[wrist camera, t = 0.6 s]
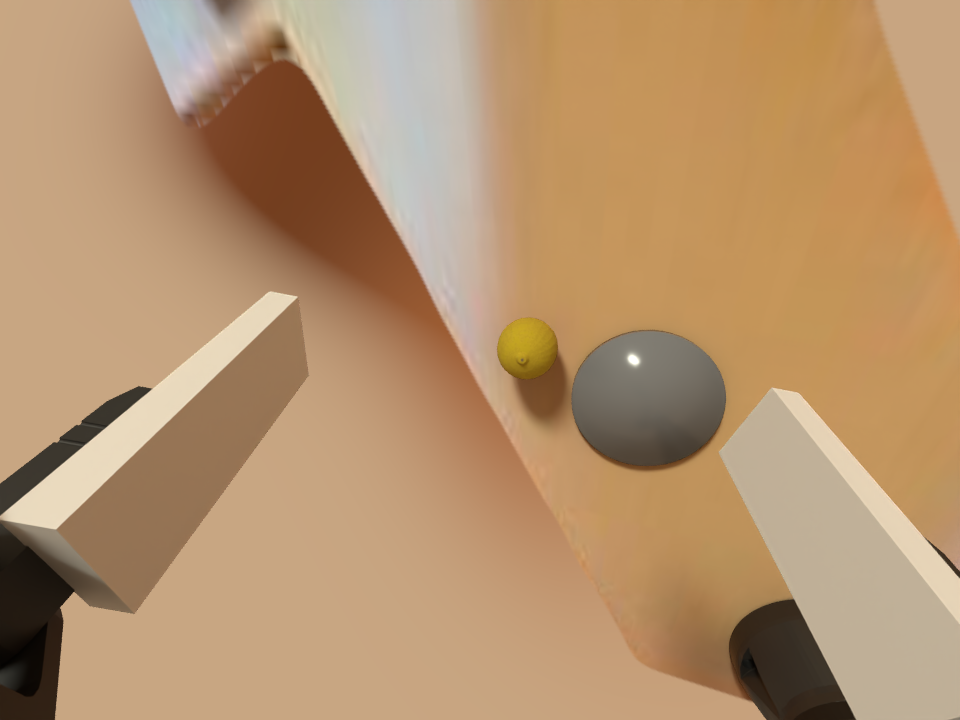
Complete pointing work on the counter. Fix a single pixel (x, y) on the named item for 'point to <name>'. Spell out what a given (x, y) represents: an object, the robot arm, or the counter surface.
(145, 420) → the robot arm
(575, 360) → the counter surface
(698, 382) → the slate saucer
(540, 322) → the lemon
